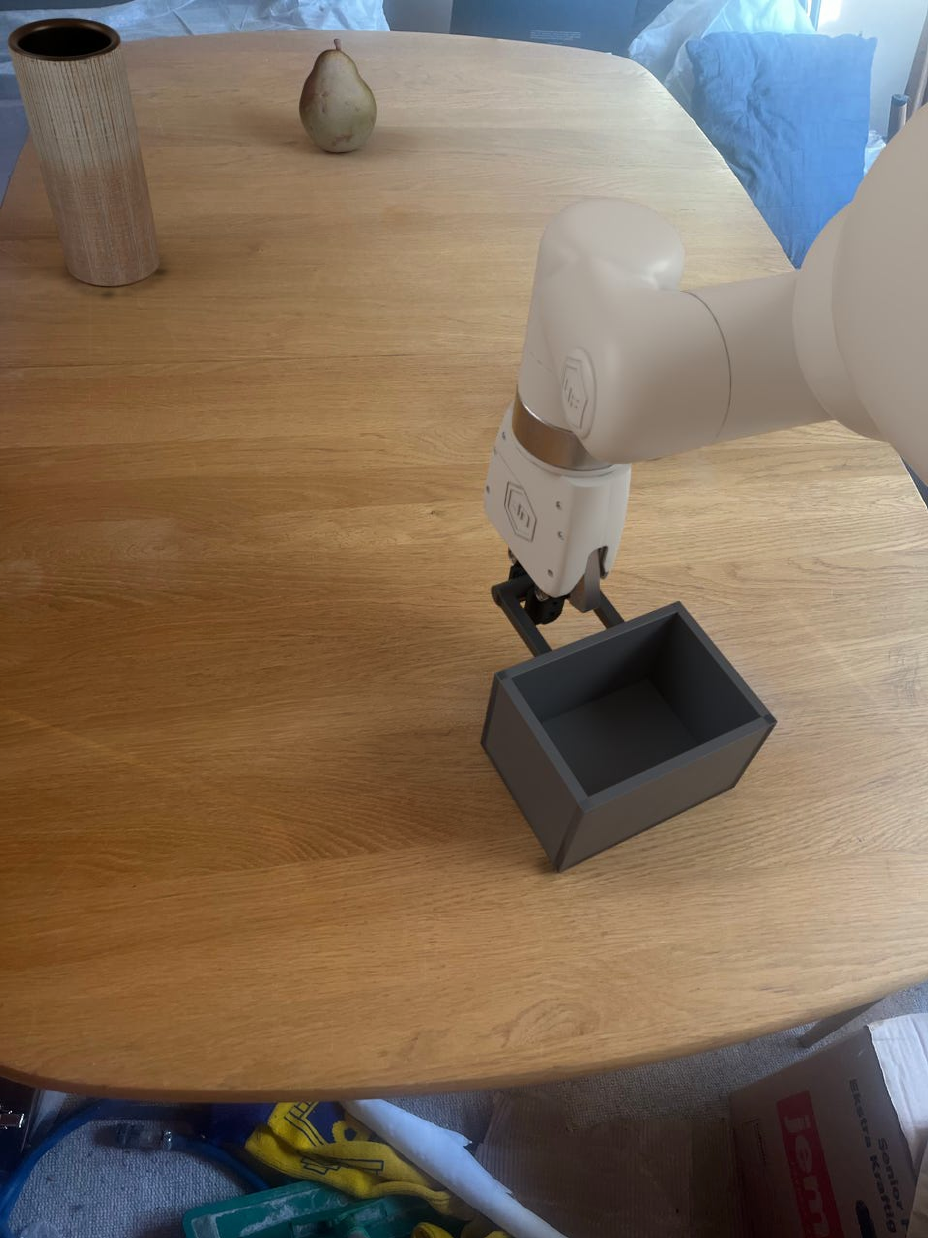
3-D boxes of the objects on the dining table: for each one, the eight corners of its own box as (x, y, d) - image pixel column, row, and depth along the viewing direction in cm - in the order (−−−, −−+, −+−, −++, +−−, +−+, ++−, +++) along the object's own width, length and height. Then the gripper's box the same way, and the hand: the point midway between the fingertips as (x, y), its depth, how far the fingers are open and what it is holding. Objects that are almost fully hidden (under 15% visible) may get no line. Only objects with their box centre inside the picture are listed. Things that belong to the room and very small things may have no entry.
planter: (101, 231, 110) (50, 8, 93) (178, 253, 109) (141, 30, 91) (47, 273, 104) (-18, 43, 87) (128, 297, 102) (78, 66, 85)
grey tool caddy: (734, 787, 69) (778, 721, 62) (558, 874, 64) (584, 813, 57) (597, 605, 78) (622, 529, 71) (434, 667, 73) (442, 592, 66)
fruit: (360, 125, 133) (359, 28, 123) (391, 154, 128) (392, 56, 118) (291, 136, 129) (285, 38, 120) (320, 167, 124) (316, 67, 115)
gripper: (458, 355, 60) (439, 552, 75) (594, 522, 52) (543, 707, 66) (559, 328, 63) (522, 524, 77) (703, 484, 55) (632, 670, 69)
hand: (532, 607), depth 72 cm, fingers closed on grey tool caddy
